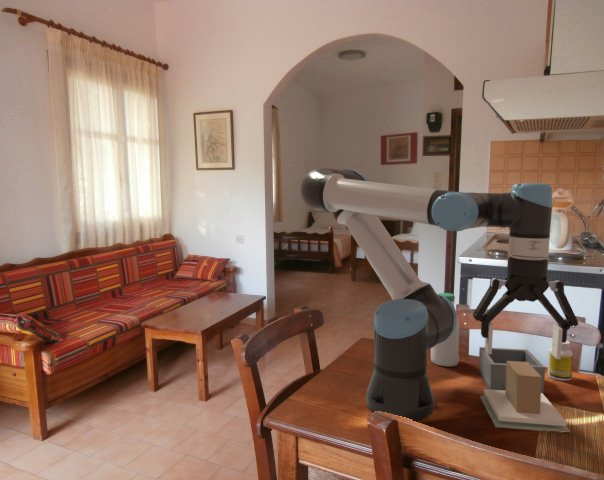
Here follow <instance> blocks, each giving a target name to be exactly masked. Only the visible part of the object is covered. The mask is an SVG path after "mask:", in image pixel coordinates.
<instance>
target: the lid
mask: <svg viewBox="0 0 604 480" xmlns="http://www.w3.org/2000/svg"><path fill="white" fill-rule="evenodd" d="M541 379H542V377H541V376H540V375H539V373H538V372H537V371H536V370H535V369H534V368H533V367H532V366H531V365H530V364H529V363H528V362H517V361H507V364H506V391H505V390H490V389H488V388H484V389H483V394H484V396H486V398H487V400H488V402H489V404H490V405H491V407H492V409H493V411H494V413H495V415H496V416H497V418H498V420H499V421H507V422H520V423H532V424H545V425H557V426H567V421H566V420H565V419H564V417H563V416H562V415H561V413H560V412H559V411H558V410H557V409H556V408H555V406H554V405H553V404H552V403H551V402H550V400H549V399H548V398H547V397H546V396H545V394H544V395H543V393H541Z"/></svg>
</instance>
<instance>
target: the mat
mask: <svg viewBox="0 0 604 480" xmlns="http://www.w3.org/2000/svg"><path fill="white" fill-rule="evenodd" d="M480 401H482V404H483V405H484V407H485V409H486V411H487V414H488V416H489V417H490V418H491V421H492V424H493V425H494V427H495V428H503V429H514V430H527V431H528V430H529V431H539V432H543V431H542V430H551V431H570V432H571V429H569V428H568V429H566V426H567V425H566V426H557V425H545V424H532V423H520V422H507V421H499V420H498V418H497V416H496V415H495V413H494V411H493V409H492V407H491V405H490V404H489V402H488V400H487V398H486V396H485V395H480Z"/></svg>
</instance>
